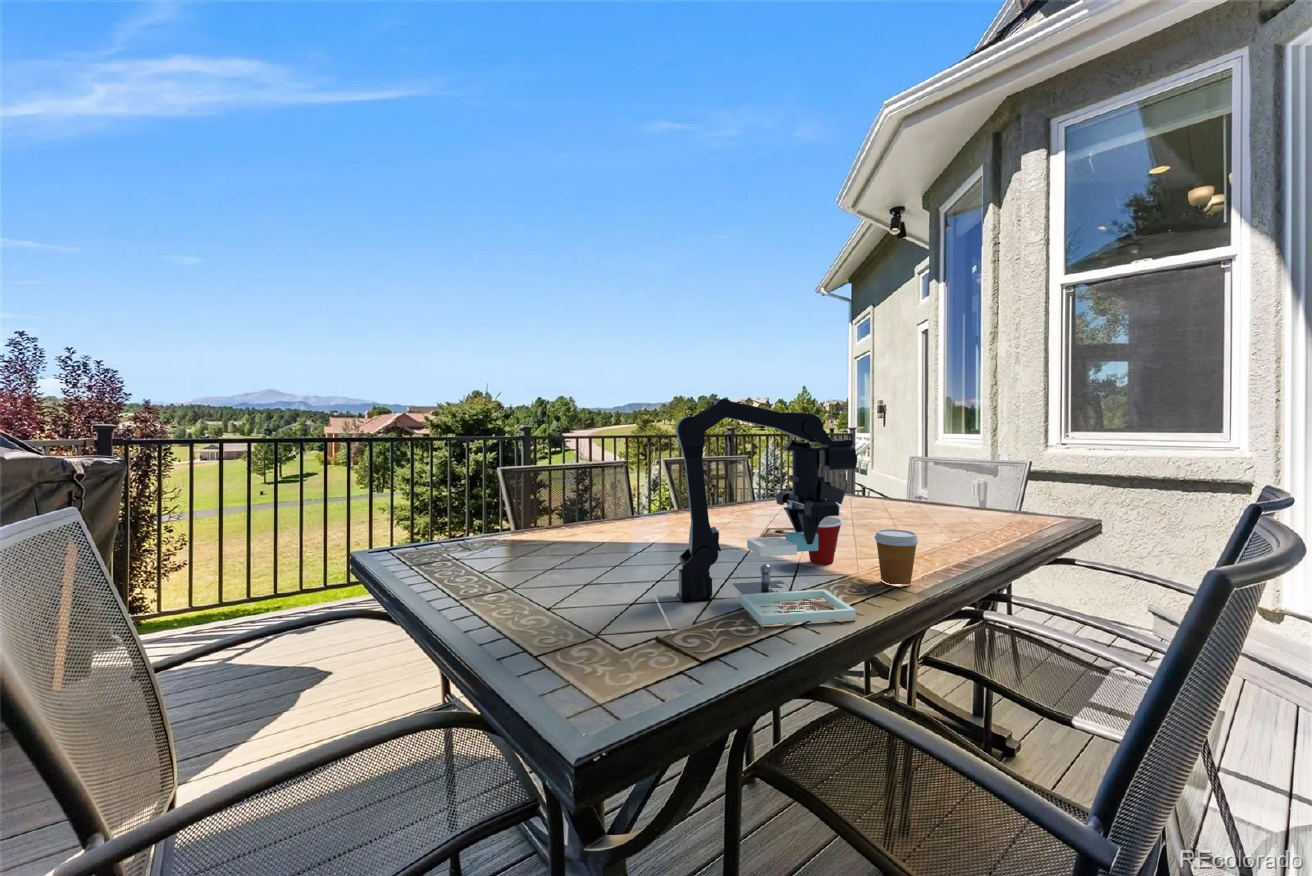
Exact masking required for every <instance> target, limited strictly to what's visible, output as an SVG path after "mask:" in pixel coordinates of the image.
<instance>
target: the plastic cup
mask: <svg viewBox="0 0 1312 876" xmlns="http://www.w3.org/2000/svg"><path fill="white" fill-rule="evenodd" d="M842 524H843V519H841V518H840V517H837V516H828V517H825V518H824V519H823V520H821V522H820V524H819V526H818V529H817V532H816V534H818V551H808V556H809V561H810V564H811V563H812V564H815V565H821V566H825V565H827V566H828V565H833V564H834V562H835V561H834V559H835V554H836V550H837V546H838V545H837V544H838V539H839V533H840V529H841V526H842ZM832 563H833V564H832Z"/></svg>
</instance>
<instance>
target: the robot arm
mask: <svg viewBox="0 0 1312 876" xmlns="http://www.w3.org/2000/svg"><path fill="white" fill-rule="evenodd" d="M726 418H727V419H730V420H735V421H740V422H745V423H749V424H754V425H759V426H762V427H768V428H772V429H773V430H774V429H775V430H776V431H780V432H781V433H784V434H785V435H788V436H790V437H793V438H796V439H798V440H805V441H808V442H797V441H795V439H792V438H790V439H789V440H788V442H787V443H785V445H783V446H782V449H783V450H784V451H789V452H790V451H792V457H791V458H792V460H791V461H792V467H791V469H792V474H789V475H788V481H792V485H791V487H792V488H791V489H792V490H789V491H788V490H787V491H779V492H778V493H777V494H776V504H777V505H780V506H784V505H785V504H786V505H787V506H784V507H783V510H784V511H785V513H786V515H787V517H788V519H789V521H790V524H791V525H792V528H793V529H794V532H803V533H804V536H805V539H806V542H807V544H808V545H810V544H813V541H814V538H815V535H816V532H817V529H818V526H819V524H820V522H821V520H823V519H824V518H825V517H828V516H831V517H839V516H840V505H842V503H843V501H844V499H845V495H846V492H847V491H846V490H844V489H842V488H838V487H836V486H834V485H832V482H830V481H827V480H826V479H825V477H824V476H823V475H821V474H820V467H821V466H822V467H824V469H825V471H827V472H829V471H830V472H831V471H832V472H833V471H836V472H837V471H840V472H841V471H855V470H856V468H857V463H858V455H857V451H856V448H855V446H854V441H853V439H851V438H850V439H849V438H848V439H847V438H846V439H838V440H835V439H834V440H833V439H831V437H830V436H829V434H828V433H827V431H826V430H825V428H824V425H823V421H822V419H821V418H820V416H819V415H817V414H816V413H815V414H814V413H812V412H811V413H810V412H808V413H807V412H785V411H783V412H781V411H777V410H772V409H768V408H764V407H759V406H754V405H751V404H746V403H741V402H737V401H736V402H735V401H732V400H730V399H727V398H721V399H717V400H715V402H714V403H713V404H711V405H710V406H708V407H707V408H705V409H703V410H701V411H700V412H698V413H697V414H695V415H693V416H692V415H691V416H685V417H682V418H680V419H679V420H678V422H677V423H676V425H675V434H676V437H677V441H678V444H679V447H680V450H681V453H682V456H683V461H684V469H685V478H686V488H687V495H688V506H689V514H690V515H689V516H690V527H689V528H690V529H689V534H688V547H687V549H685V550H684V551H683V553H681V554H680V556H679V557H678V559H679V561H680V565H681V568H679V569H678V592H677V593H676V595H677V596H678V598H679V600H680V602H681V603H683V604H692V603H693V604H694V603H707V602H712V601H713V599H712V597H713V578H712V577H711V576H710V575H711V574H710V573H711V572H710V568H711V566H712V565H714V564H715V563H716V562H717V561H718V558H719V552H721V551H722V549H721V547H720V541H719V540H720V531H719V530H718V529H717V527H715V526H712V527H711V525H710V519H709V510H708V508H709V507H708V501H707V500H708V499H707V491H706V483H705V482H706V481H705V474H704V473H705V472H704V464H703V453H704V448H705V447H704V446H705V435H706V432H707V431H708V430H710V429H712V428H713V427H714V426H716V425H717V424H718V423H720V422H721V421H722V420H724V419H726ZM811 444H814V445H815V444H816V445H820V446H812V445H811Z"/></svg>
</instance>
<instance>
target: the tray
mask: <svg viewBox="0 0 1312 876" xmlns="http://www.w3.org/2000/svg"><path fill="white" fill-rule="evenodd" d="M812 598H824V599H825V600H826V601H827V602H829V603H830V604H832V605H833V606H835V607H836V608H837V609H834V610H819V611H818V610H817V611H814V610H811V609H810V610H806V609H805V608H804V609H800V610H799V609H798V610H797V609H795V610H794V609H793V610H790V609H789V611H805V612H790V613H778V612H777V613H774V612H773V611H788V610H784V609H780V608H778V609H777V607H773V606H784V605H785V604H783V605H782V604H780V603H779V604H778V603H774V602H787V601H788V602H801V601H790V600H802V602H803V599H812ZM804 602H809V601H804ZM811 602H812V601H811ZM813 602H814V601H813ZM739 605H740V606H742V608H743V609H746V610H747V611H748V612H749V613H750V614H751V615H752V616H753V617H754V618H753V617H752V616H751V615H750V614H749V613H748V612H747V611H746V610H745V611H746V612H747V613H748V614H749V615H750V616H751V617H752V618H753V619H754V621H756V620H757V621H756V622H757V624H758V625H759V624H760V625H773V624H783V623H791V622H792V623H793V622H805V621H815V620H835V619H844V618H853V617H856V616H857V610H856V609H855V608H854V607H852V606H850V605H849V604H848V603H846V602H845V601H843V600H841V598H839V597H837V595H834V594H833V593H831V592H830V591H828V590H826V589H824V588H823V589H809V590H808V589H807V590H794V591H789V592H773V593H757V594H742V593H741V594H739ZM757 606H758V607H757ZM760 606H766V608H765V607H760ZM767 606H769V607H767ZM770 606H771V607H770ZM785 606H791V605H785ZM793 606H794V605H793ZM796 606H797V605H796ZM798 606H799V605H798ZM800 606H801V605H800ZM802 606H810V605H802ZM811 606H812V605H811ZM762 611H772V612H766V613H765V612H764V613H763V612H762ZM856 618H857V617H856Z"/></svg>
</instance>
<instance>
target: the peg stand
mask: <svg viewBox="0 0 1312 876" xmlns="http://www.w3.org/2000/svg"><path fill="white" fill-rule="evenodd" d="M772 570H773V569H772V566H771V565H770V564H768V563H762V564H761V566H760V568H759V572H760V575H761V576H760V581H752V582H751V581H750V582H737V583H736V582H735V583H734V582H733V583H732V585H733V586H734V587H735V588H736V589H737V590H738V591H739V593H741V594H757V593H773V592H775V591H773V590H772V589H770V588H783V587H781V586H779V585H777V584H786V583H785V582H784V581H782V580H771V573H772ZM776 592H778V591H776Z"/></svg>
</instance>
